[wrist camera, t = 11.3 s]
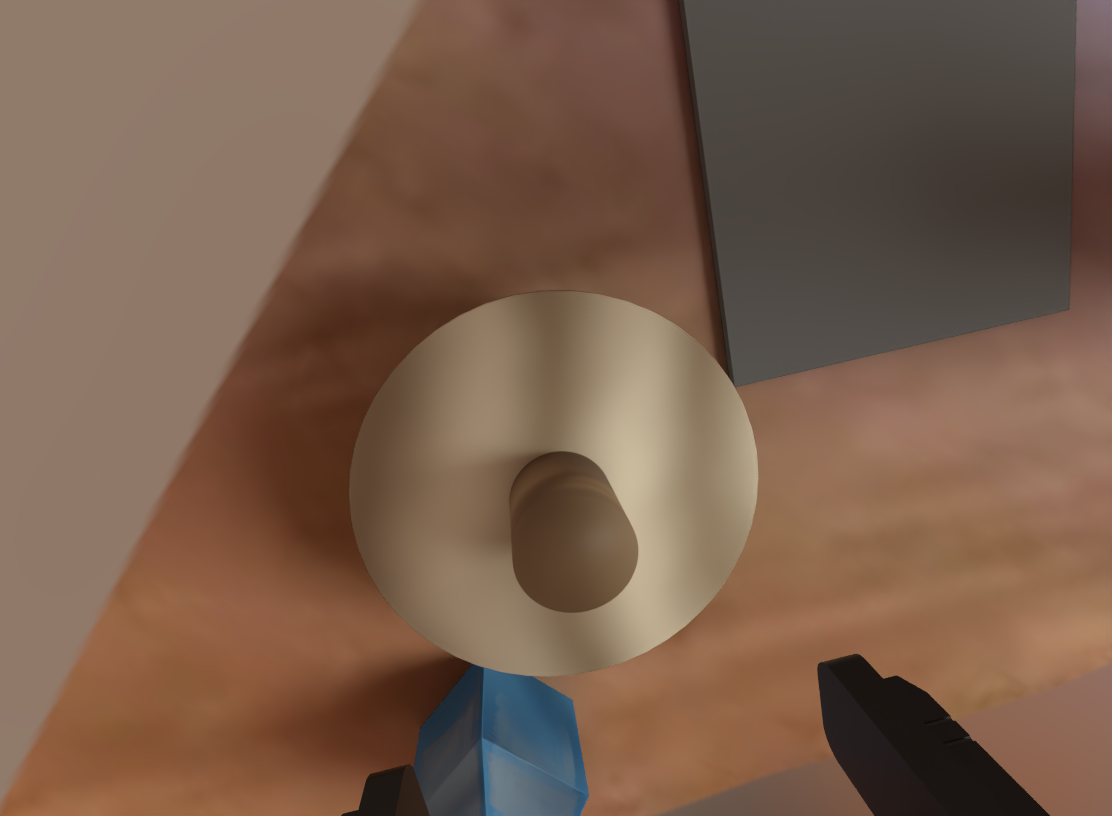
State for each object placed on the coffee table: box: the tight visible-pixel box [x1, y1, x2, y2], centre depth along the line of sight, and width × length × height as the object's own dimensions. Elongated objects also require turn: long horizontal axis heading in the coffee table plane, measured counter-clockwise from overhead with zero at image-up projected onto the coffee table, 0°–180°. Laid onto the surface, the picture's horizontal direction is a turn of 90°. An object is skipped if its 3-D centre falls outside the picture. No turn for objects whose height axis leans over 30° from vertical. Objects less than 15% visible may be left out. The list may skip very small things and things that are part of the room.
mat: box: [679, 0, 1077, 387], centre depth 27 cm, size 18×18×1 cm
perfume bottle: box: [414, 664, 589, 816], centre depth 27 cm, size 6×6×12 cm
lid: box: [349, 290, 758, 676], centre depth 21 cm, size 16×16×6 cm
